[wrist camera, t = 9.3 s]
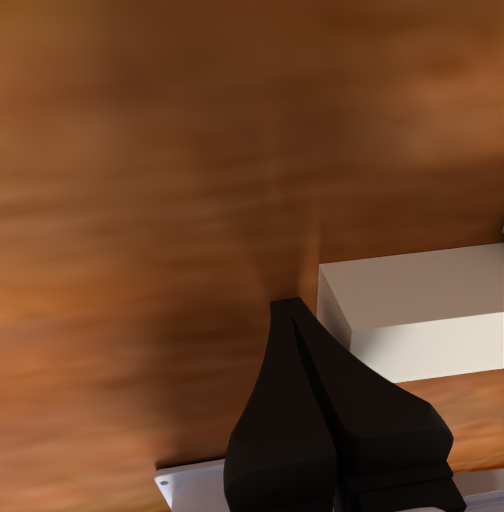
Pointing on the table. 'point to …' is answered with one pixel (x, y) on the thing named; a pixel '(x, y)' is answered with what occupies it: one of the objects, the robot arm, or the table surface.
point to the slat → (418, 311)
